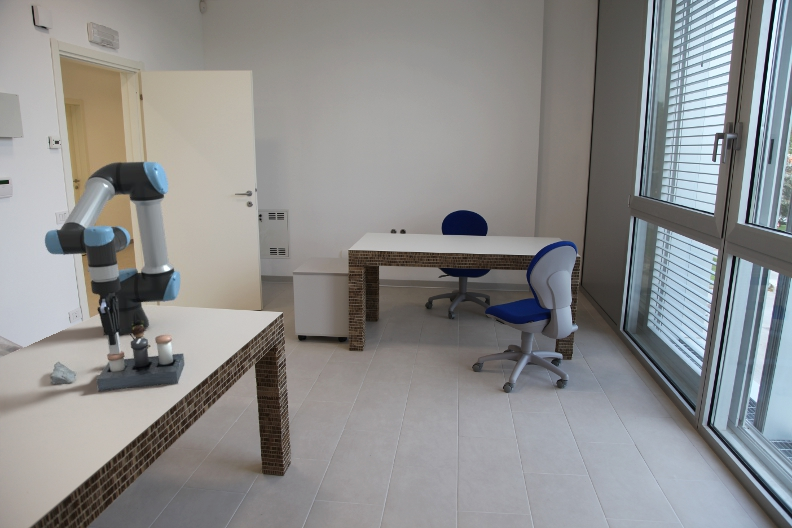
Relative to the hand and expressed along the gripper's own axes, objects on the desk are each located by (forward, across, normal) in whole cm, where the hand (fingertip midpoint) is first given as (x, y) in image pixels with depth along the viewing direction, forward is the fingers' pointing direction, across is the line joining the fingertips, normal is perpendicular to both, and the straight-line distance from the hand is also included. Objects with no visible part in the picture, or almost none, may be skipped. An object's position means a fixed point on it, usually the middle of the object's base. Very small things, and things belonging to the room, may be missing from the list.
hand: (115, 353), depth 160 cm
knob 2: (+4, 0, +14) cm, 15 cm away
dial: (+4, 0, +7) cm, 8 cm away
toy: (+9, -14, +4) cm, 17 cm away
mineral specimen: (+9, -6, -18) cm, 21 cm away
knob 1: (+8, 0, 0) cm, 8 cm away
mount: (+9, 0, +7) cm, 11 cm away
